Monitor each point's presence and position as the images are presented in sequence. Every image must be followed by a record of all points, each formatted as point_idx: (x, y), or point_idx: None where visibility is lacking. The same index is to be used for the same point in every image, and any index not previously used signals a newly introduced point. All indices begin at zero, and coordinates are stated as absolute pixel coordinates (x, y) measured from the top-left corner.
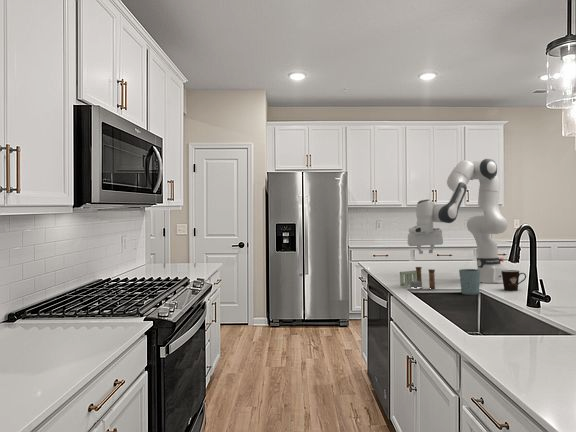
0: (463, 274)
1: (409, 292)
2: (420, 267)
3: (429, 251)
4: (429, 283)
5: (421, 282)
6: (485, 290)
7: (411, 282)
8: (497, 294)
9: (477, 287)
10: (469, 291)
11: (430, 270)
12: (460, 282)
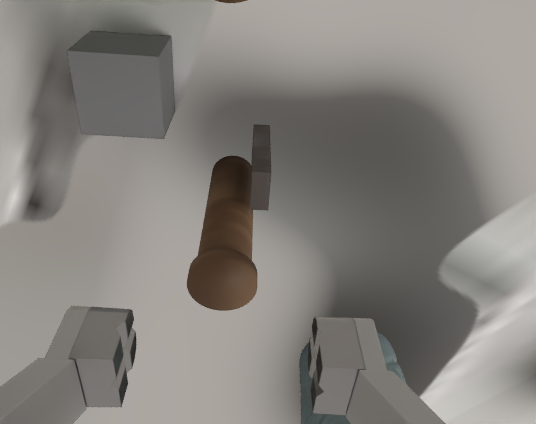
0: None
1: (14, 203)
2: (236, 2)
3: (318, 358)
4: (208, 195)
5: (160, 135)
6: (488, 330)
7: (73, 68)
8: None
9: None
10: None
11: (196, 297)
12: None
